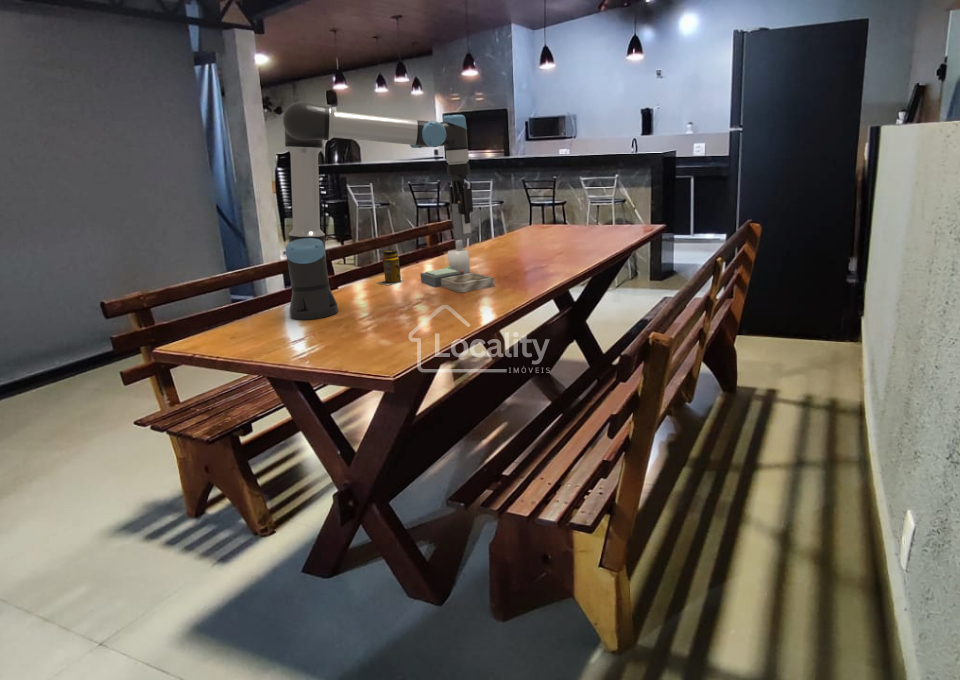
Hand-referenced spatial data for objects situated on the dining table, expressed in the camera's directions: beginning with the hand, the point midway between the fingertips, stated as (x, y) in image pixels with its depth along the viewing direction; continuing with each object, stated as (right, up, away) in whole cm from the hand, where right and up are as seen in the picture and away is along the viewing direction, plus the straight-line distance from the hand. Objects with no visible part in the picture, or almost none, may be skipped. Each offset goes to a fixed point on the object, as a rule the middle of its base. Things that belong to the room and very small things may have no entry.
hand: (463, 232), depth 233 cm
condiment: (-28, -16, +23) cm, 40 cm away
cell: (0, -2, 0) cm, 2 cm away
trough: (+1, -18, +5) cm, 19 cm away
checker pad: (-8, -14, +15) cm, 22 cm away
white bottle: (-2, -12, +29) cm, 31 cm away
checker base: (-8, -16, +16) cm, 24 cm away
